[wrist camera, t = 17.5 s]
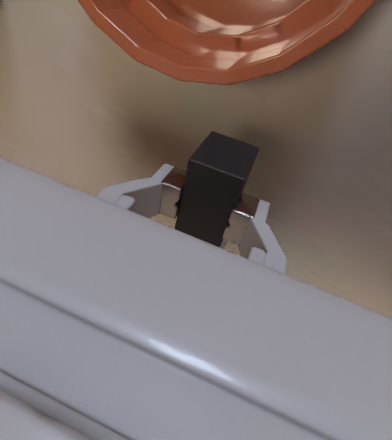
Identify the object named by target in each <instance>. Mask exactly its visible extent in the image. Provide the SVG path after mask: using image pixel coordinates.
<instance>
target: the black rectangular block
mask: <svg viewBox="0 0 392 440" xmlns="http://www.w3.org/2000/svg"><path fill="white" fill-rule="evenodd" d="M258 151H259V147H256V146H253V145H250V144H248V143H245V142H242V141H239V140H236V139H233V138H231V137H228V136H225V135H222V134H219V133H216V132H213V131H211V133H210V134H209V135H208V136H207V138H206V139H205V140H204V141H203V142H202V144H201V145H200V146H199V147H198V148H197V150H196V151H195V152H194V153H193V155H192V156H191V157H190V158H189V160H188V165H187V170H186V175H185V180H184V188H183V193H182V197H181V200H180V208H179V213H178V215H177V220H176V225H175V229H176V230H178V231H181V232H183V233H186V234H188V235H190V236H193V237H195V238H198V239H200V240H203V241H205V242H207V243H210V244H212V245H215V246H217V247H220V248H222V249H225V246H226V244H227V241H228V240H226V239H224V238H222V237H223V234H224V232H225V229H226V226H227V224H228V222H229V218H230V216H231V213H232V211H233V208H234V206H235V205H236V204H237V202H238V200H239V197H240V195H241V193H242V192H243V189H244V187H245V184H246V181H247V179H248V176H249V174H250V171H251V169H252V166H253V163H254V161H255V158H256V156H257V153H258Z"/></svg>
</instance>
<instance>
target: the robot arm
mask: <svg viewBox="0 0 392 440" xmlns="http://www.w3.org/2000/svg"><path fill="white" fill-rule="evenodd" d="M185 175H186V171H184V170H181V169H179V168H176V167H174V166H171V165H168V164H164V165H163V166H162V167H161V168H160V169H159V170H158V171H157V172H156V173H155V174H154V175H153V176H152V177H151V178H148V177H147V178H142V179H138V180H133V181H129V182H124V183H119V184H115V185H110V186H106V187H105V188H104V189H103V190H102V191H100V192H99V193H98V194H97V195H96V196H93V195H91V194H88V193H86V192H83V191H81V190H78V189H76V188H73V187H71V186H69V185H66V184H64V183H61V182H59V181H56V180H54V179H52V178H49V177H47V176H44V175H42V174H39V173H37V172H34V171H32V170H30V169H27V168H25V167H22V166H20V165H17V164H15V163H13V162H10V161H8V160H5V159H3V158H0V440H392V318H390V317H388V316H385V315H383V314H380V313H378V312H375V311H373V310H371V309H368V308H366V307H363V306H361V305H358V304H356V303H354V302H351V301H349V300H346V299H344V298H341V297H339V296H337V295H334V294H332V293H329V292H327V291H324V290H322V289H320V288H317V287H315V286H312V285H310V284H307V283H305V282H303V281H300V280H298V279H295V278H293V277H290V276H288V275H286V270H287V263H288V259H287V257H286V255H285V253H284V252H283V250H282V248H281V246H280V244H279V243H278V241H277V239H276V237H275V236H274V234H273V232H272V230H271V228H270V227H269V225H268V224H267V223H265V222H266V218H267V215H268V211H269V207H270V203H269V202H266V201H263V200H261V199H257V198H254V197H252V196H249V195H246V194H243V193H241V195H240V197H239V200H238V202H237V204H236V205H235V206H234V208H233V211H232V213H231V216H230V218H229V222H228V224H227V226H226V229H225V232H224V234H223V237H222V238H224V239H226V240H228V241H231V242H233V243H235V244H238V247H239V250H240V253H241V256H239V255H237V254H234V253H232V252H229V251H227V250H225V249H222V248H220V247H217V246H215V245H212V244H210V243H207V242H205V241H203V240H200V239H198V238H195V237H193V236H190V235H188V234H186V233H183V232H181V231H178V230H176V229H173V228H171V227H168V226H166V225H164V224H161V223H159V222H156V221H154V220H151V219H149V218H150V217H153V216H155V215H157V214H159V213H161V214H164V215H166V216H169V217H172V218H176V216H177V215H178V213H179V208H180V200H181V197H182V193H183V188H184V180H185Z"/></svg>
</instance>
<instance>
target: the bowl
mask: <svg viewBox="0 0 392 440" xmlns="http://www.w3.org/2000/svg"><path fill="white" fill-rule="evenodd" d="M78 1H79V3H80V4H81V6H82V7H83V9H84V10H85V11H86V13H87V14H88V16H89V17H90V19H91V20H92V21H93V22H94V24H95V25H96V26H98V27H99V28H100V29H101V30H102V31H103V32H104V33H105V34H106V35H108V36H109V37H110V38H111V39H112V40H113V41H114V42H115V43H116V44H118V45H119V46H120V47H121V48H122V49H123V50H124V51H125V52H126V53H128V54H129V55H130V56H131V57H132V58H133V59H135V60H136V61H138V62H140V63H142V64H144V65H146V66H149V67H151V68H153V69H155V70H157V71H159V72H161V73H164V74H166V75H168V76H170V77H172V78H174V79H176V80H180V81H187V82H198V83H209V84H220V85H228V84H229V85H232V84H235V83H239V82H243V81H247V80H251V79H254V78H258V77H262V76H266V75H270V74H273V73H277V72H281V71H283V70H285V69H287V68H289V67H290V66H292V65H293V64H295V63H297V62H298V61H300V60H301V59H303V58H305V57H306V56H308V55H309V54H311V53H313V52H314V51H316V50H317V49H319V48H321V47H322V46H324V45H325V44H327V43H329V42H330V41H332V40H333V39H335V38H337V37H338V36H340V35H341V34H343V33H344V32H345V31H346V30H348V29H349V28H350V27H351V26H352V25H353V24H354V23H355V22H356V21H357V20H358V19H359V17H360V16H361V15H362V14H363V13H364V12H365V11H366V10H367V9H368V8H369V7H370V6H371V5H372V4H373V3H374V2H375V1H376V0H78Z"/></svg>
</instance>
